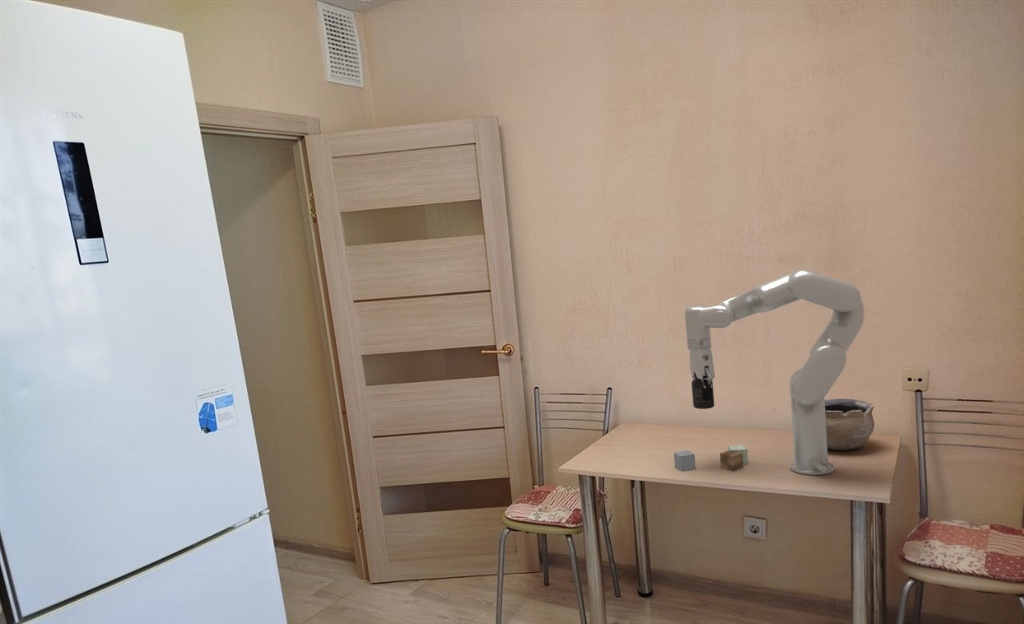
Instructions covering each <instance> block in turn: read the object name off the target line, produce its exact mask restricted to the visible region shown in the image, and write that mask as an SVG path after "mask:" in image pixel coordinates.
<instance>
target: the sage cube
mask: <svg viewBox="0 0 1024 624" xmlns="http://www.w3.org/2000/svg"><path fill="white" fill-rule="evenodd" d="M729 450H732V451H737V452H741V453H743V465H748V464H749V454H748V453H749V452H748V448H747V447H745V445H743V444H739V445H737V444H736V445H727V451H729Z"/></svg>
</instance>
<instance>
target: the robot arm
mask: <svg viewBox="0 0 1024 624" xmlns="http://www.w3.org/2000/svg"><path fill="white" fill-rule="evenodd" d="M799 300H804V301H807V302H809V303H813V304H814V305H815V304H816V305H818V306H821V307H825V308H827V309H831V310H832V315H831V317H830V319H829V321H828V323H827V325H826V327H824V330H823V332H822V333H821V334H820V336H819V337H818V338H817V340H816V341H815V343H814V344H813V345H812V347H811V348H810V349H809V350H810V351H809V357H808V359H807V360H806V362H805V363H804V365H803V366H802V368H799V369H797V370H796V371H794V372H793V374H792V375H791V376H790V380H789V393H790V404H791V405H790V406H791V407H790V408H791V424H792V439H793V440H792V441H793V457H794V460H793V461H791V462H790V463H789V469H790V470H791V471H793V472H795V473H798V474H802V475H808V476H809V475H812V476H814V475H815V476H818V475H819V476H820V475H827V474H828V475H829V474H831V473H833V472H834V471H835V465H834V464H833V463H831V462H829V455H828V451H829V450H828V448H827V434H826V414H825V400H826V399H825V397H826V396H827V395H828V393H829V392H830V390H831V389H832V388H833V386H834V385H835V384H836V382H837V381H838V379H839V377H840V376H841V374H842V373H843V370H844V369H845V367H846V364H847V352H848V350H849V349H850V347H851V346H852V344H853V342H854V340H855V339H856V338H857V336H858V334H859V332H860V331H861V329H862V326H863V325H864V324H863V323H864V320H865V319H864V318H865V307H864V302H863V300H862V295H861V292H860V290H859V288H858V287H857V286H856V285H854V284H852V283H850V282H847V281H841V280H840V279H839V280H838V279H835V278H831V277H827V276H826V275H822V274H819V273H816V272H814V271H811V270H809V269H799V270H795V271H793V272H789V274H785V275H783V276H781V277H778V278H776V279H774V280H770V281H769V282H766V283H763V284H762V285H759V286H756V287H753V288H752V289H749V290H748V291H746V292H744V293H741V294H739V295H736V296H734V297H731V298H728V299H727V300H724V301H721V302H718V303H717V304H715V305H713V306H705V305H695V306H689V307H686V309H685V310H684V319H685V321H684V322H685V332H686V343H687V344H686V345H687V350H689V370H690V375H691V377H692V380H693V379H695V377H694V372H695V373H696V376H697V378H698V379H700V380H701V382H702V386H703V388H702V399H703V400H712V399H713V395H712V381H713V379H715V377H716V373H715V365H714V359H713V352H712V350H711V349H712V339H711V338H712V337H711V328H712V329H725V328H727V327H729V326H730V325H731V324H732V323H733V322H737V321H738V320H741V319H745V318H747V317H750V316H753V315H755V314H760V313H761V314H762V313H767V312H768V313H769V312H771V311H774V310H777V309H779V308H781V307H784V306H787V305H790V304H792V303H795V302H798V301H799ZM703 377H707V378H703ZM704 381H706V382H704Z"/></svg>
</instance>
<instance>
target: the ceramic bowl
mask: <svg viewBox="0 0 1024 624" xmlns="http://www.w3.org/2000/svg"><path fill="white" fill-rule="evenodd" d="M824 400H825V414H826V434H827V449H829V450H835V451H851V450H856V449H859V448H860V447H862V446H863V445H864V444H866V443H867V441H868V440H869V439H870V437H871V436H872V434H873V432H874V429H875V420H874V416H873V413H872V412H873V410H874V408H875V405H874V404H873V403H871V402H867V401H864V400H858V399H853V398H830V399H824Z"/></svg>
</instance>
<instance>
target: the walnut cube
mask: <svg viewBox="0 0 1024 624" xmlns="http://www.w3.org/2000/svg"><path fill="white" fill-rule="evenodd" d="M719 461H720V462H719V463H720V469H722V468H723V469H722V470H726V469H727V471H730V470H731V472H736V471H739V470H742V469H744V466H745V464H743V453H741V452H737V451H732V450H729V451H728V450H726V451H723V452H719ZM741 468H742V469H741ZM738 469H739V470H738ZM735 470H736V471H735Z"/></svg>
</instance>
